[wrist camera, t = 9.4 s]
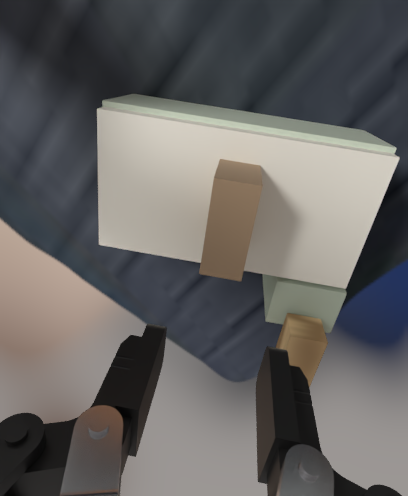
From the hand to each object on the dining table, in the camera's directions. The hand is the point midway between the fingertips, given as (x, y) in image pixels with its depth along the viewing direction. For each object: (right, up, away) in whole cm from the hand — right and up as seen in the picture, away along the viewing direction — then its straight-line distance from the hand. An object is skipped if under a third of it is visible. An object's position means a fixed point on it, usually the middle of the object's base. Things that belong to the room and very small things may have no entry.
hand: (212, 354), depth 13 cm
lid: (+2, +8, +15) cm, 17 cm away
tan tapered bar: (+8, -6, +19) cm, 22 cm away
